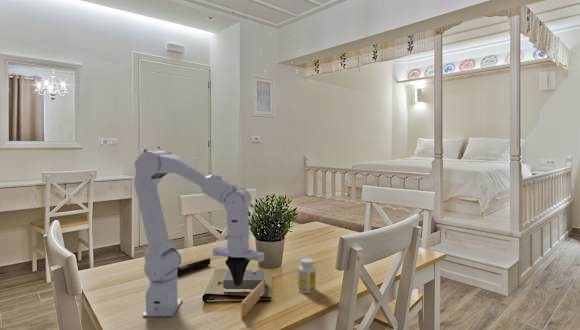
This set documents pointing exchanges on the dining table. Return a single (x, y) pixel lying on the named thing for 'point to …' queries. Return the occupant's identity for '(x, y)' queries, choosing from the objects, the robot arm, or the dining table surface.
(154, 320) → the dining table surface
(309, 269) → the supplement bottle
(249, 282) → the camera body
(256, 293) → the side door
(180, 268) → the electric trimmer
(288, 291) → the dining table surface
